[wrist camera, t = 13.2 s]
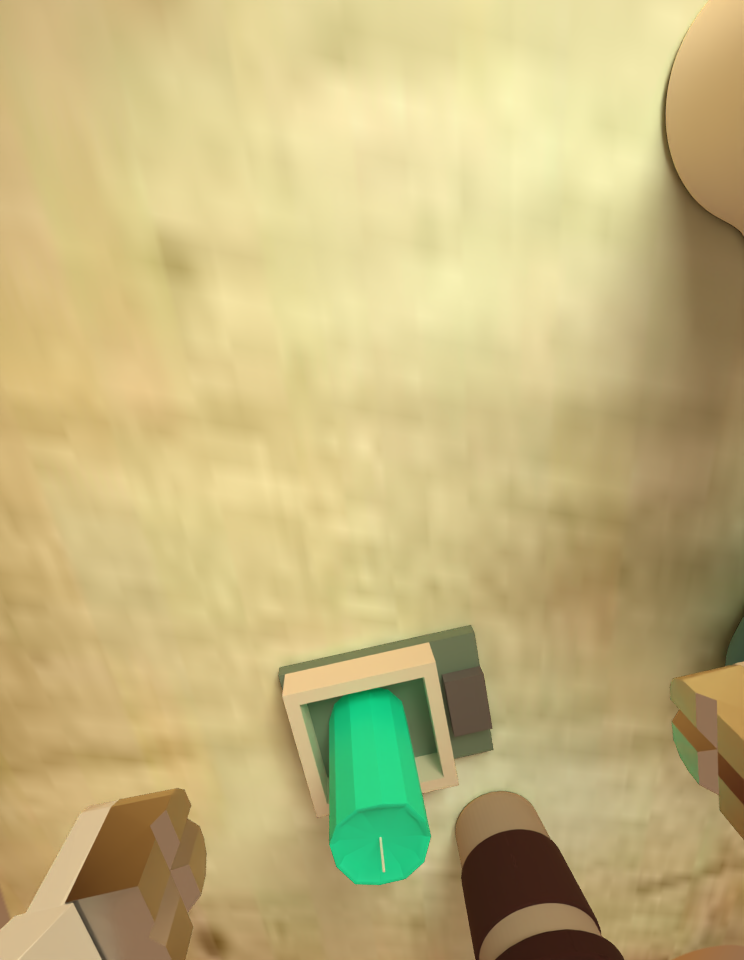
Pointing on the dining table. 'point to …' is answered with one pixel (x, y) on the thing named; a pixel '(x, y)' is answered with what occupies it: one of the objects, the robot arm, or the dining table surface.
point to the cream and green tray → (411, 678)
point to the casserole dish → (736, 646)
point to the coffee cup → (522, 887)
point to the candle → (374, 790)
